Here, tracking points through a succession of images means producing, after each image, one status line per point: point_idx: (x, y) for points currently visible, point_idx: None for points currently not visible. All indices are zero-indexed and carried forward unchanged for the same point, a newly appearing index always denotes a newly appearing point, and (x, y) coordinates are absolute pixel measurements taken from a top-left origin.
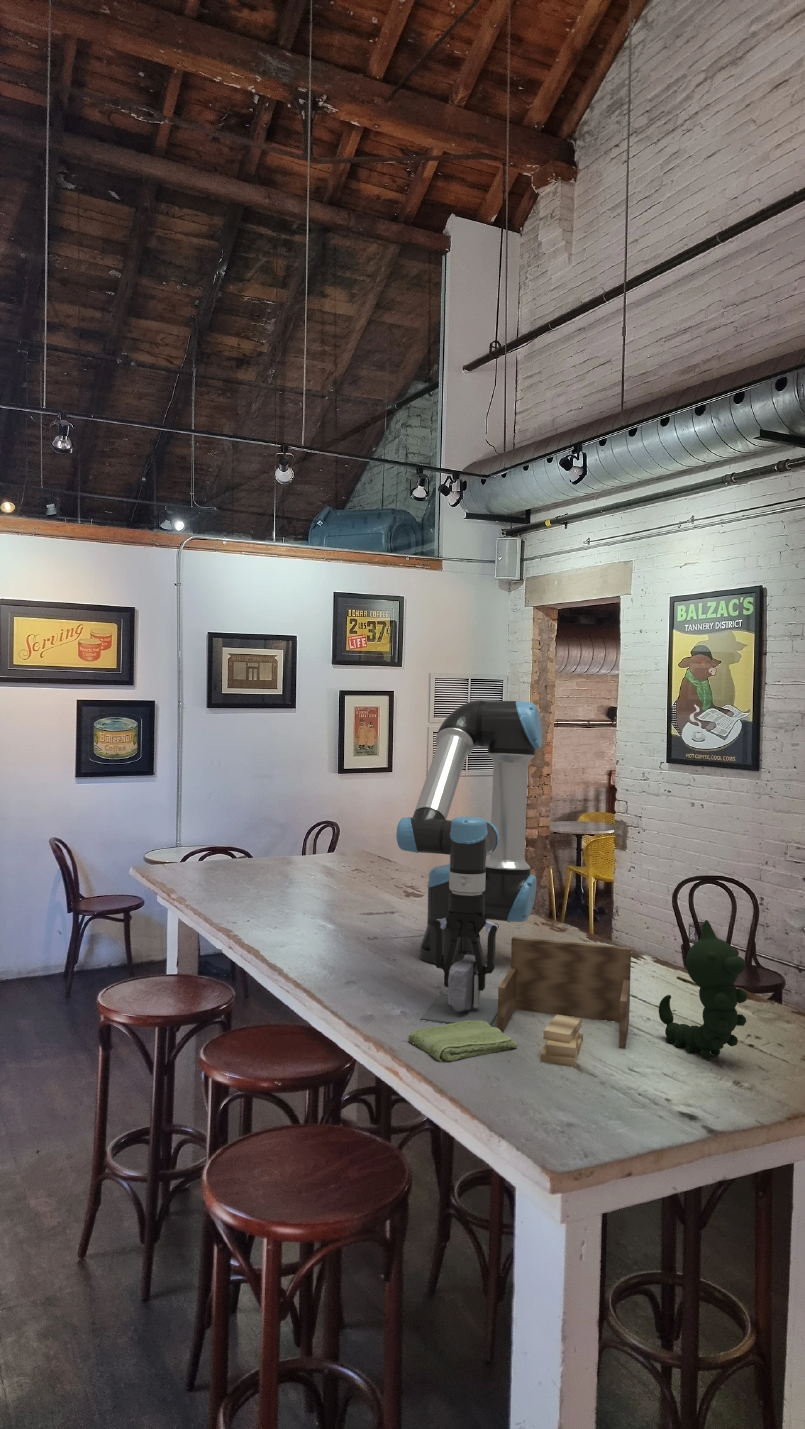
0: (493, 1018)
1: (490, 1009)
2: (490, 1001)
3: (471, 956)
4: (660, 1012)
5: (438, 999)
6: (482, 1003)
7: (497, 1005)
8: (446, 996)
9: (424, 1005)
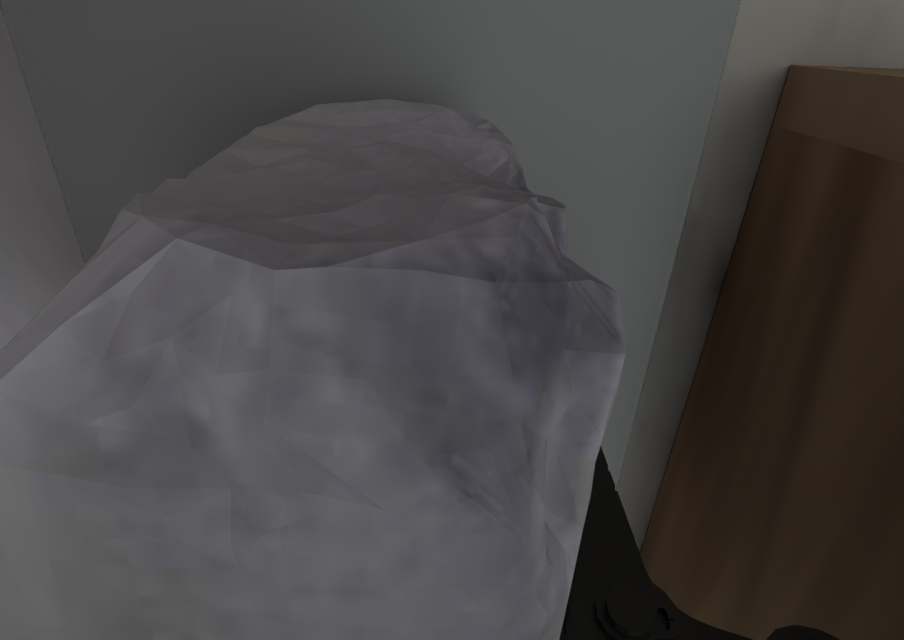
0: (625, 445)
1: (600, 275)
2: (594, 19)
3: (236, 628)
4: None
5: (71, 147)
6: (515, 124)
7: (667, 139)
8: (87, 6)
9: (24, 238)
